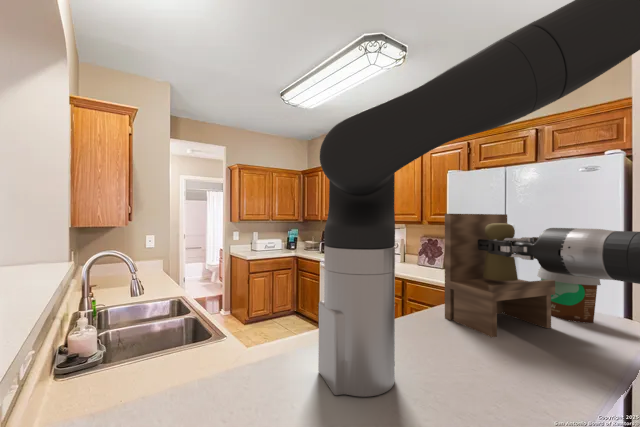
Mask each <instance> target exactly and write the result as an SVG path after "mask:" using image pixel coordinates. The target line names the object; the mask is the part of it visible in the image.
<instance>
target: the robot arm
mask: <svg viewBox="0 0 640 427" xmlns="http://www.w3.org/2000/svg"><path fill="white" fill-rule="evenodd" d="M639 51H640V0H573V1H571V2H570V1H569V2H568V3H567V4H565V5H563V6H561V7H559V8H556V9H555V10H554V11H552V12H550V13H548V14H546V15H544V16H542V17H541V18H538V19H536V20H533V21H532V22H530V23H528V24H526V25H524V26H522V27H520V28H519V29H516V30H515V31H513V32H511V33H510V34H506V36H503V37H502V38H499V40H498V39H497V40H496V41H495V42H493V43H492V44H490V45H488V46H486V47H484V48H483V49H481V50H480V51H478V52H477V53H474V54H473V55H471V56H469V57H467V58H466V59H464V60H462V61H460V62H458V63H457V64H455V65H453V66H451V67H449V68H448V69H446V70H445V71H443V72H441V73H440V74H437V75H436V76H435V77H432V78H431V79H430V80H428V81H426V82H423V84H421V85H419V86H417V87H415V88H413V89H411V90H409V91H406V92H405V93H402V94H400V95H398V96H396V97H392V98H391V99H388V100H387V101H384V102H382V103H379V104H376V105H375V106H371V107H369V108H366V109H364V110H362V111H360V112H357V113H355V114H353V115H350V116H348V117H347V118H344V119H343V120H341V121H338V123H336V124H335V125H334V126H332V127H331V129H330V130H329V131H328V133H327V134H326V135H325V137H324V138H323V141H322V143H321V146H320V150H319V164H320V167H321V169H322V172H323V173H324V175H325V176H326V178H327V179H328V180H329V183H328V185H329V187H328V188H329V189H328V190H329V191H328V192H329V194H328V198H329V199H328V213H327V218H326V219H327V220H326V222H325V225H324V232H323V234H324V236H323V237H324V241H323V242H324V243H323V244H324V246H323V249H324V251H323V252H324V257H323V258H324V260H323V261H324V264H323V266H324V267H323V268H324V269H323V270H324V271H323V272H324V273H323V300H320V301H319V302H318V370H317V371H318V373H319V374H320V376H321V377H322V379H323V381H324V382H325V383H326V385H327V386H328V388H329V389H330V390H331V392H332V393H333V395H334V396H340V395H346V396H348V395H349V396H353V397H363V398H365V397H373V396H379V395H382V394H384V393H387V392H388V391H390V390H391V389H392V388H393V386H394V385H395V381H396V379H395V378H396V377H395V366H396V361H395V355H396V354H395V352H396V350H395V349H396V348H395V345H396V344H395V339H396V336H395V332H396V330H395V329H396V328H395V326H396V325H395V324H396V321H395V320H396V318H395V317H396V316H395V314H396V313H395V312H396V311H395V310H396V309H395V308H396V306H395V305H396V303H395V302H396V301H395V300H396V299H395V297H396V296H395V295H396V294H395V292H396V291H395V289H396V287H395V286H396V281H395V279H396V274H395V273H396V272H395V271H396V270H395V269H396V217H395V213H396V212H395V186H396V185H395V173H396V172H398V171H399V170H400V169H402V168H404V167H405V166H407V165H409V164H410V163H413V162H414V161H416V160H417V159H419V158H421V157H422V156H424V155H426V154H428V153H430V152H431V151H433V150H434V149H437V148H438V147H440V146H443V145H445V144H448V143H450V142H453V141H456V140H458V139H462V138H464V137H469V136H472V135H476V134H479V133H483V132H486V131H491V130H493V129H496V128H498V127H503V126H504V125H507V124H509V123H512V122H515V121H516V120H519V119H521V118H524V117H526V116H528V115H530V114H532V113H534V112H536V111H538V110H540V109H543V108H544V107H546V106H549V105H550V104H552V103H555V102H556V101H559V100H561V99H562V98H564V97H565V96H568V95H569V94H571V93H573V92H575V91H577V90H578V89H580V88H582V87H583V86H586V84H589V83H590V82H592V81H594V80H596V79H598V77H600V76H601V75H604V74H605V73H607V72H608V71H610V70H612V69H613V68H614V67H615V66H617V65H619V64H620V63H622V62H624V61H625V60H626V59H628V58H630V57H632V56H633V55H634V54H636V53H637V52H639ZM511 243H512V244H511ZM478 249H479V250H484V251H488V253H490V254H496V255H502V256H506V257H514V258H519V259H522V260H525V261H526V260H527V261H534V260H537V262H538V264H539V266H540V267H542V268H543V269H545V270H546V271H549V272H553V273H560V274H566V275H573V276H579V277H586V278H592V279H600V280H604V281H605V280H609V281H617V282H624V283H629V284H630V283H631V284H637V285H640V231H627V230H623V231H622V230H611V229H603V228H602V229H601V228H582V227H581V228H577V227H574V228H573V227H549V228H546V229H545V230H543V231H541V233H540V234H539V236H532V237H529V236H528V237H526V236H525V237H523V236H522V237H520V238H518V237H513V238H505V239H504V240H497V239H494V240H492V239H490V240H486V239H479V240H478ZM512 252H513V253H512Z"/></svg>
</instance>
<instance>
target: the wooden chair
mask: <svg viewBox="0 0 640 427" xmlns="http://www.w3.org/2000/svg"><path fill="white" fill-rule="evenodd" d="M492 223H507V224H508V214H506V213H505V214H500V213H499V214H498V213H494V214H493V213H492V214H491V213H444V319H446V320H449V321H454V322H456V324H457V323H458V324H460V325H462V326H464V327H467V328H469V329H471V330H473V331H475V332H478V333H481V334H483V335H485V336H488V337H490V338H496V337H498V315H502V314H503V315H506V316H509V317H513V318H515V319H517V320H521V321H524V322H527V323H529V324H532V325H536V326H538V327H541V328H544V327H545V329H550V327H551V328H552V316H551V295H555V280H541V279H540V280H532V281H530V280H524V279H520V278H518V280H516V281H502V280H493V279H487V278H484V277H483V273H484V265H485V258H486V251H484V250H479V249H478V240H479V239H486V240H488V238H487V237H486V235H485V228H486V226H487V225H488V224H492Z"/></svg>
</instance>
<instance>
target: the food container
mask: <svg viewBox="0 0 640 427" xmlns="http://www.w3.org/2000/svg"><path fill="white" fill-rule="evenodd" d="M537 277H538V278H540V280H555V295H551V317H553V318H557V319H560V320H563V319H564V321H568V320H570V321H569V322H574V321H576V322H577V323H583V322H585V324H594V322H595V321H594V320H595V311H596V302H597V294H598V292H597V291H598V286H601V279H592V278H586V277H579V276H573V275H566V274H560V273H553V272H549V271H546V270H545V269H543V268H542V267H541V266H540V267H539V269H538V271H537ZM576 322H575V323H576Z"/></svg>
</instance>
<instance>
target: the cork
mask: <svg viewBox="0 0 640 427" xmlns="http://www.w3.org/2000/svg"><path fill="white" fill-rule="evenodd" d="M515 230H516V229H515V227H514V226H513V225H512V224H510V223H508V222H507V223H492V224H488V225H487V226H486V228H485V235H486V237H487V238H488V240H490V239H492V240H494V239H497V240H504V239H505V238H515V233H516V232H515ZM511 244H512V243H511ZM512 253H513V252H512ZM483 277H484V278H487V279H493V280H502V281H516V280H518V279H519V277H518V272H517V267H516V258H515V257H506V256H502V255H496V254H490V253H488V251H486V258H485V265H484V273H483Z"/></svg>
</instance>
